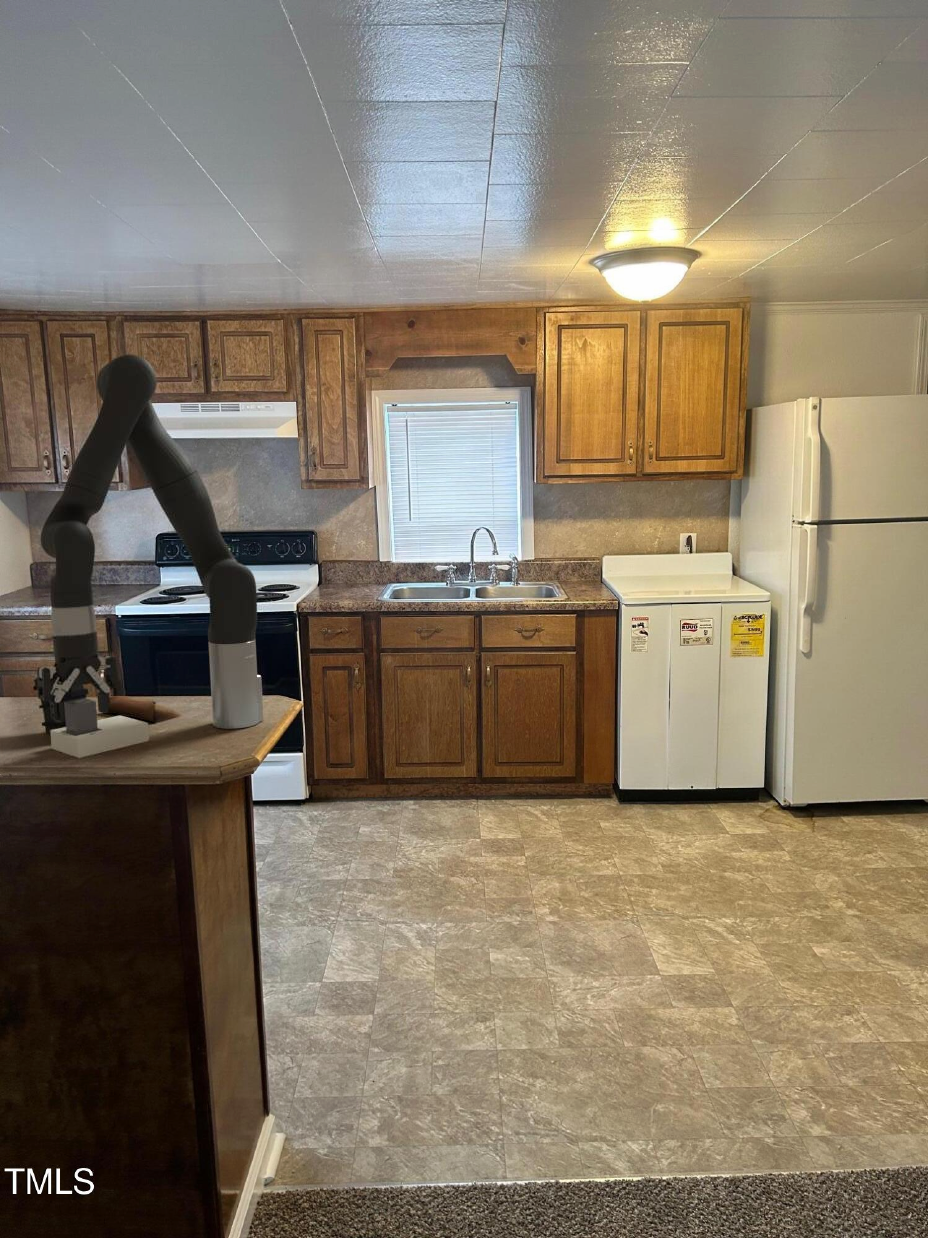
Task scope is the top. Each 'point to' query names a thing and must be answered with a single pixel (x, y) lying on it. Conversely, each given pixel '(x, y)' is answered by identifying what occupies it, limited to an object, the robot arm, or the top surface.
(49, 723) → the magazine
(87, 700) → the grey rectangular block
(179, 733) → the top surface
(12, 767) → the top surface
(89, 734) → the switch board
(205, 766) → the top surface
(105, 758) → the top surface
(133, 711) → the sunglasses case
